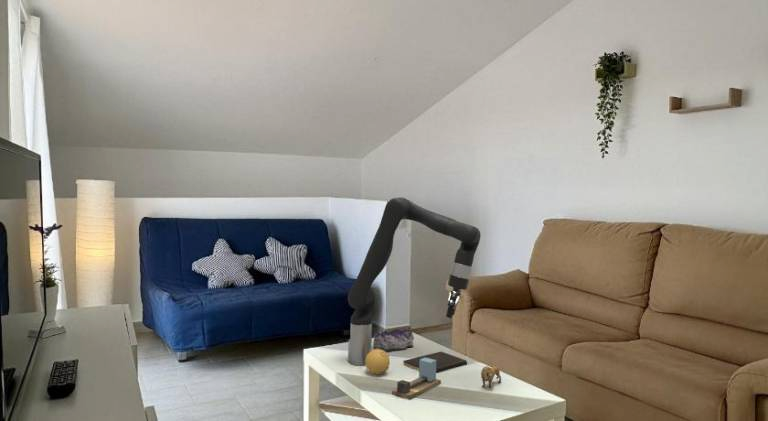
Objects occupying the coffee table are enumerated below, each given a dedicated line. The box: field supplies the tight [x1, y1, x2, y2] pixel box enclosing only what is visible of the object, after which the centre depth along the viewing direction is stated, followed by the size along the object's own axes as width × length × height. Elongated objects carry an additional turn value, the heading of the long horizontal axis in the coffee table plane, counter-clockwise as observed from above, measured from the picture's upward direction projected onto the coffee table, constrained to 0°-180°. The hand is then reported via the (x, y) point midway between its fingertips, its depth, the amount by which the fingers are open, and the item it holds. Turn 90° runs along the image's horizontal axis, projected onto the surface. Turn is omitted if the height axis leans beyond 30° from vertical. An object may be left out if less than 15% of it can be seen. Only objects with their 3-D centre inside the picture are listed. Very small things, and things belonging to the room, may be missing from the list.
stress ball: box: [365, 348, 391, 375], centre depth 225 cm, size 10×10×10 cm
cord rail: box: [391, 377, 442, 401], centre depth 209 cm, size 8×21×5 cm, turn 142°
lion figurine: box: [480, 365, 502, 390], centre depth 215 cm, size 15×5×9 cm, turn 150°
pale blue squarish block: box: [418, 358, 437, 382], centre depth 215 cm, size 5×4×7 cm
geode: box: [372, 328, 415, 352], centre depth 261 cm, size 20×12×10 cm, turn 120°
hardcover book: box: [402, 351, 468, 374], centre depth 238 cm, size 16×23×2 cm
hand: (449, 316), depth 215 cm, fingers open, 8 cm apart
